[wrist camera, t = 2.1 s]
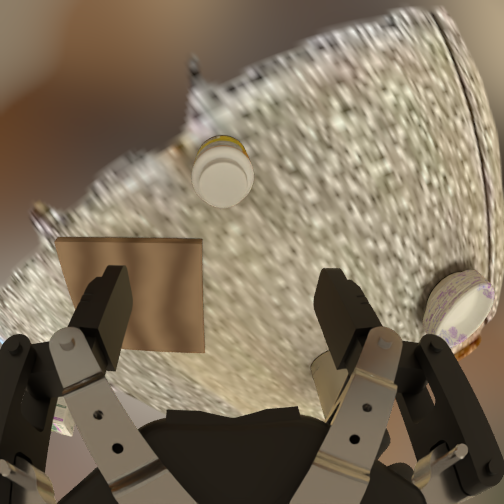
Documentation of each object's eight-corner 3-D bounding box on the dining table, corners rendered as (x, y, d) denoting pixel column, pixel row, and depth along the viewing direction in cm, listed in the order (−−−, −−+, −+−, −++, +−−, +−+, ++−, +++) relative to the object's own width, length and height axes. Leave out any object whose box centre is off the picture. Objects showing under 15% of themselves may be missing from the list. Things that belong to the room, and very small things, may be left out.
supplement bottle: (237, 186, 32) (244, 225, 24) (191, 173, 31) (180, 208, 22) (254, 142, 30) (268, 165, 21) (206, 127, 28) (199, 144, 20)
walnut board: (202, 238, 35) (201, 243, 34) (204, 347, 45) (204, 353, 44) (58, 237, 32) (54, 241, 31) (91, 340, 43) (89, 345, 42)
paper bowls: (483, 257, 43) (507, 281, 36) (454, 316, 51) (472, 341, 44) (431, 260, 41) (458, 290, 34) (403, 327, 49) (421, 357, 42)
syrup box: (56, 356, 45) (35, 416, 33) (81, 363, 46) (63, 426, 34) (63, 372, 48) (46, 429, 35) (87, 378, 49) (73, 438, 37)
